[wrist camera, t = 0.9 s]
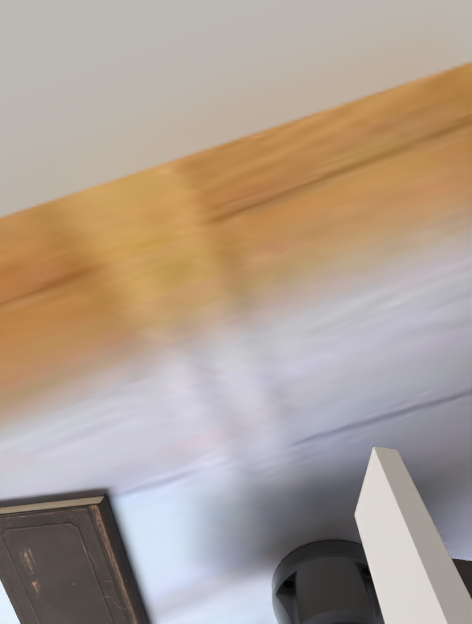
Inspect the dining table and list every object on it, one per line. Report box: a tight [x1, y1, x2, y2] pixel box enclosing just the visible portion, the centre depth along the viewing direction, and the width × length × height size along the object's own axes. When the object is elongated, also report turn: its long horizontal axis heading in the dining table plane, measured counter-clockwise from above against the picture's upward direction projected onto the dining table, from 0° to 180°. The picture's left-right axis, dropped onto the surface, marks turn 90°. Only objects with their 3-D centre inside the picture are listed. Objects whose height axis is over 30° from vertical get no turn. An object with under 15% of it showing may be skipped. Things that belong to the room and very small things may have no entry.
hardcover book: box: [0, 494, 149, 624], centre depth 56 cm, size 16×23×2 cm
